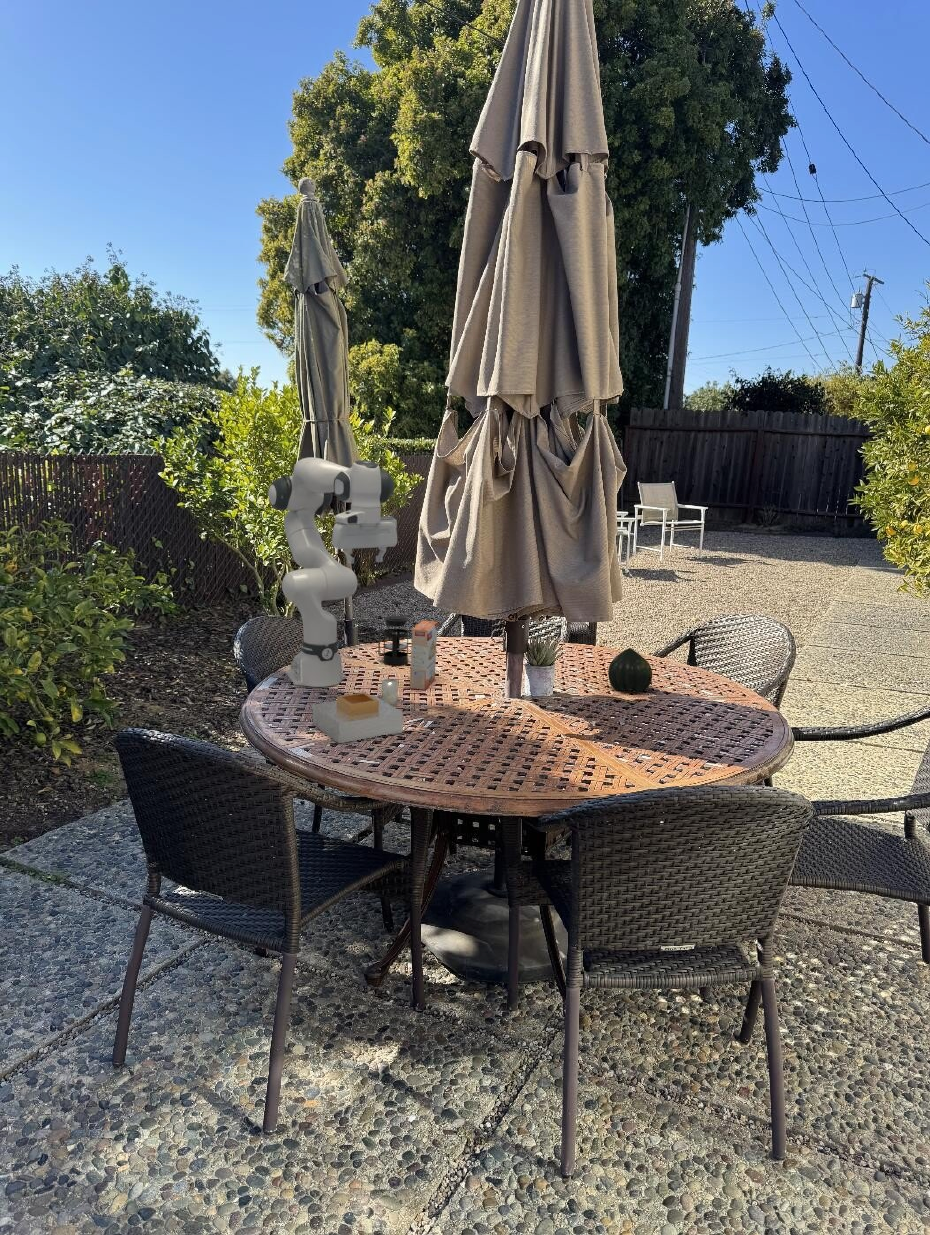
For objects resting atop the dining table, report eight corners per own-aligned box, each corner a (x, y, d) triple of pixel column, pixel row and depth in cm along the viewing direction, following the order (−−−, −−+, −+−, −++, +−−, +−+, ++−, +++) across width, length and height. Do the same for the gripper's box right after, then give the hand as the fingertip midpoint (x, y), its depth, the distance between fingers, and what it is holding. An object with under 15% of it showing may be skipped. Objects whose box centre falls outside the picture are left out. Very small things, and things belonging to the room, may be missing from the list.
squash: (636, 685, 286) (650, 646, 292) (595, 677, 295) (611, 640, 300) (648, 705, 296) (662, 667, 302) (609, 697, 305) (623, 661, 310)
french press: (411, 659, 325) (412, 600, 320) (408, 666, 316) (410, 605, 311) (379, 658, 325) (381, 598, 320) (376, 665, 316) (377, 603, 311)
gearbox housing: (312, 724, 253) (312, 694, 251) (373, 713, 264) (374, 685, 262) (338, 744, 238) (339, 712, 236) (402, 732, 249) (403, 702, 247)
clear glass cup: (378, 704, 273) (379, 680, 271) (392, 702, 275) (393, 678, 274) (386, 709, 269) (386, 684, 267) (400, 706, 271) (400, 682, 270)
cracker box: (426, 691, 288) (428, 630, 284) (409, 689, 289) (410, 628, 285) (436, 679, 302) (438, 621, 297) (419, 677, 303) (421, 619, 298)
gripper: (391, 514, 264) (390, 559, 267) (329, 516, 253) (329, 562, 256) (401, 516, 259) (400, 562, 262) (339, 518, 248) (338, 566, 251)
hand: (365, 562), depth 259 cm, fingers open, 8 cm apart
